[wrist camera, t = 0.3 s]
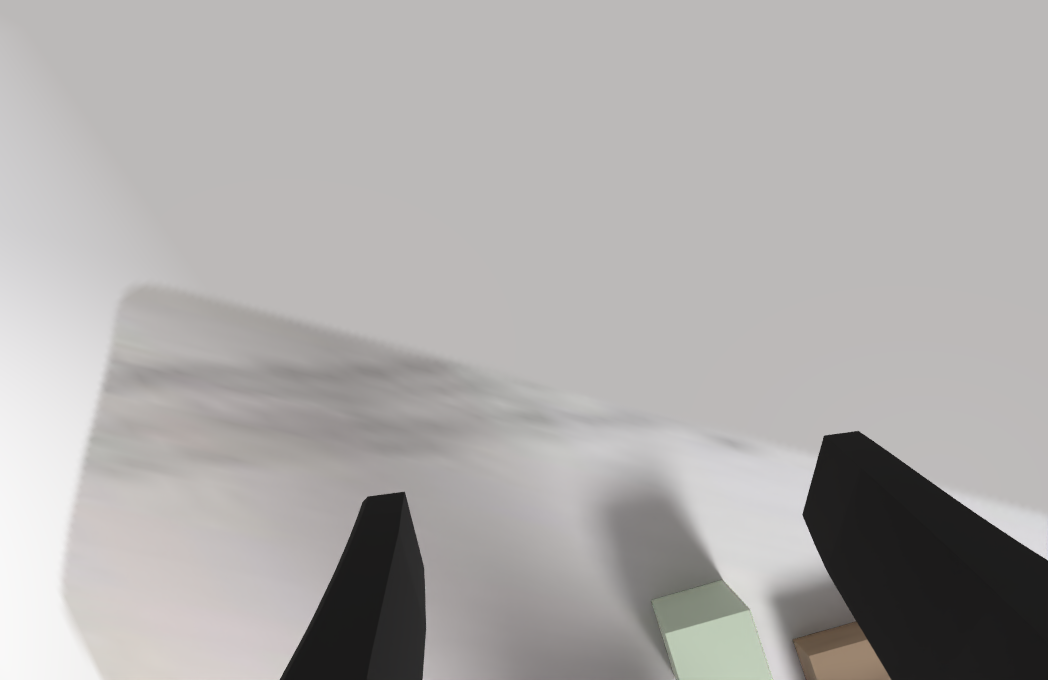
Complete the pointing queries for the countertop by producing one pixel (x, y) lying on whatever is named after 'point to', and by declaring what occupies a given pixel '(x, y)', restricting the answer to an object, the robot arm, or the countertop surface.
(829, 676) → the walnut block
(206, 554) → the countertop surface
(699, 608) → the sage block
